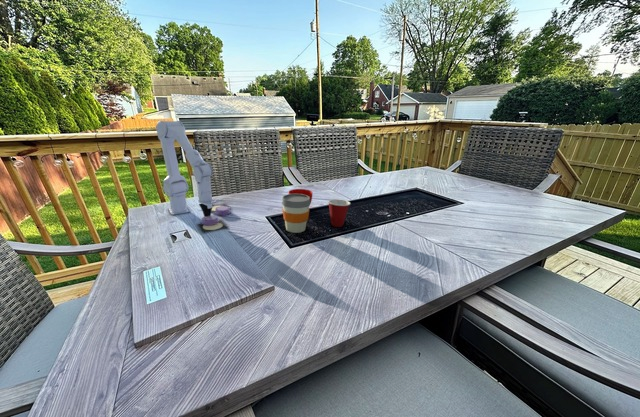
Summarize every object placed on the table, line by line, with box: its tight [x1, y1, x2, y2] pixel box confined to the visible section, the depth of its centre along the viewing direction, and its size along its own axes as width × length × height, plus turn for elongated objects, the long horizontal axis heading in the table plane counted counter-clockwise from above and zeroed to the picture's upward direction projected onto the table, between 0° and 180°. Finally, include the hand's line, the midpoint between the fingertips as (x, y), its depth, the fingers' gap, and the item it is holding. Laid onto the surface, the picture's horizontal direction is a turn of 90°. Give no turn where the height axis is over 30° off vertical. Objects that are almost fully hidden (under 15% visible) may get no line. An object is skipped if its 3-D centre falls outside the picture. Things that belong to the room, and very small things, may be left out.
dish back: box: [215, 205, 231, 216], centre depth 134 cm, size 7×7×3 cm
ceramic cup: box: [288, 188, 313, 207], centre depth 141 cm, size 13×17×10 cm
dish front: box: [201, 214, 219, 226], centre depth 121 cm, size 7×7×2 cm
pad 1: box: [211, 203, 231, 214], centre depth 140 cm, size 10×10×1 cm
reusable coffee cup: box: [281, 193, 311, 234], centre depth 118 cm, size 13×12×15 cm
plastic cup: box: [327, 198, 351, 228], centre depth 125 cm, size 11×11×12 cm
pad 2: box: [197, 220, 228, 234], centre depth 118 cm, size 10×10×1 cm
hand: (207, 218), depth 124 cm, fingers closed, pressing on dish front
